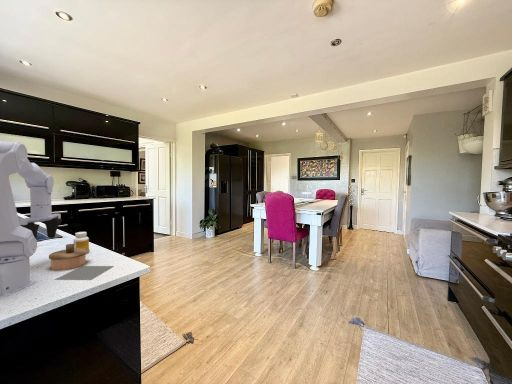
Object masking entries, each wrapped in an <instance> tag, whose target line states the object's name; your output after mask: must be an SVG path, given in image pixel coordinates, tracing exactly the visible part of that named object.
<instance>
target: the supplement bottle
mask: <svg viewBox="0 0 512 384" xmlns="http://www.w3.org/2000/svg"><path fill="white" fill-rule="evenodd" d="M87 235H88V234H87V231H79V232H75V237H74V238H73V244H74V248H88V249H89V250H90V238H89V237H88V236H87Z"/></svg>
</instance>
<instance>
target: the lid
mask: <svg viewBox="0 0 512 384" xmlns="http://www.w3.org/2000/svg"><path fill="white" fill-rule="evenodd" d="M89 253H90V248H89V249H88V248H74V243H68V244H65V249H61V250H57V251H54V252H52V253H50V254H48V259H49V260H51V259H52V260H64V259H71V258H76V257H80V256H84V255H88V254H89Z"/></svg>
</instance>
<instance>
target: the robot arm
mask: <svg viewBox="0 0 512 384" xmlns="http://www.w3.org/2000/svg"><path fill="white" fill-rule="evenodd" d="M13 174H18V175H19V176H20V177H21V178H22V179H23V180H24V183H25V184H26V187H27V188H28V189H29V197H30V203H29V204H30V216H28V217H24V218H21V219H19V215H18V211H17V207H16V202H15V199H14V194H13V190H12V186H11V183H10V179H9V178H10V176H11V175H13ZM53 187H54V176H53V175H52V174H50V173H46V172H45V171H44V170H43V169H42V168H41V167H40V166H39V165H38V164H36V163H35V162H30V160H29V158H28V149H27V147H26V145H25V144H24V143H22V142H21V141H5V140H4V141H3V140H2V141H1V140H0V297H1V296H2V297H6V296H7V297H8V296H9V295H12V294H14V293H16V292H18V291H21V290H22V289H26V288H27V287H29V286H31V285H33V284H36V283H38V282H39V280H38V279H37V280H31V269H30V266H31V265H30V257H31V256H33V255H34V254H35V253H36V251H37V248H38V241H37V240H38V230H39V227H40V223H41V222H44V225H45V229H46V235H47V238H48V239H54V238H55V237H56V234H57V232H58V231H57V230H58V228H59V226H60V225H61V223H62V219H61V218H62V217H61V213H52V212H53V211H52V193H53ZM36 223H39V224H36Z"/></svg>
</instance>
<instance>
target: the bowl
mask: <svg viewBox="0 0 512 384" xmlns="http://www.w3.org/2000/svg"><path fill="white" fill-rule="evenodd" d="M86 255H87V254H86ZM86 255H84V256H80V257H76V258H71V259H64V260H52V259H50V269H51V270H53V271H63V270H70V269H76V268H79V267H81V266H84V265H85V264H86V262H87V259H86V257H87V256H86Z"/></svg>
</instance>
